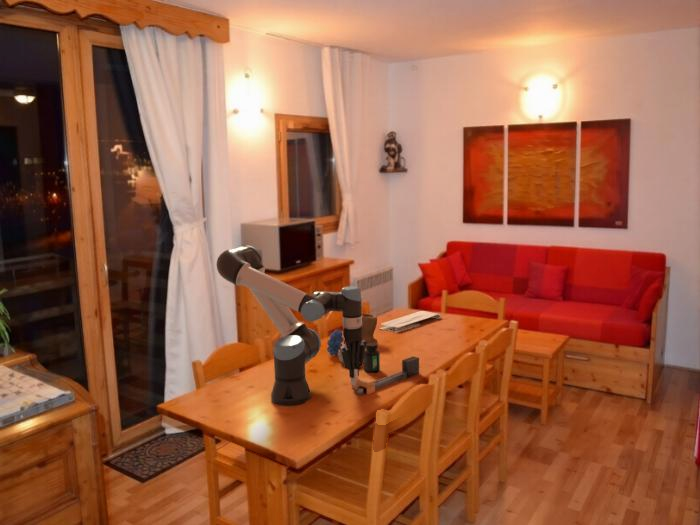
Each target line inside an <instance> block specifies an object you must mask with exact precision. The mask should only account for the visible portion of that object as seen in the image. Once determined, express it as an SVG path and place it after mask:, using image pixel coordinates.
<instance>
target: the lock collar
mask: <svg viewBox="0 0 700 525" xmlns="http://www.w3.org/2000/svg"><path fill="white" fill-rule="evenodd" d="M375 381H376V380H374V379H371V378H368V377H362V378H358V386H354V385H351V389H353V390H356V391H357V387H360V386H362V387H365V388H367V393H366V395H370V394H372V393H375V392H376V390H375Z"/></svg>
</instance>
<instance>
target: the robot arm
mask: <svg viewBox="0 0 700 525" xmlns="http://www.w3.org/2000/svg"><path fill="white" fill-rule="evenodd" d="M216 270H217V272H218V274H219V275H220V276H221V277H222V278H223V279H225V280H226V281H227V282H229V283H231V284H233V285H236V286H238V287H240V286H244V287H246V288H247V289H248V290H249V291H250V293H251V294H252V295H253V297H254V298H255V299H256V301H257V302H258V304H259V305H260V307H261V308H262V309H263V311H264V312H265V314H266V315H267V316H268V318H269V319H270V320H271V323H273V325H274V326H275V327H276V329H277V331H278V332H279V334H280V337H279V338H277V339H276V340H275V341H274V344H273V351H272V353H273V362H274V363H273V366H274V383H273V386H272V387H273V388H272V390H271V393H270V397H271V398H270V399H271V402H272V403H273V404H275V405H278V406H284V407H294V406H298V405H299V406H300V405H303V404H305V403H307V402H308V401H310V399H311V398H312V397H311V396H312V394H311V389H310V386H309V383H308V381H307V378H306V365H307V363H308V362H309V361H311V360H312V359H314V358H315V357H316V356H317V355H318V353H319V352H320V350H321V346H322V341H321V338H320V335H319V333H317V331H316V330H314V329H312V328H308V326H307V325H306V323H305V322H303V321H302V322H301V321H299V320H298V318H297V317H296V315H295V314H294V313H293V312H292V310H293V311H296V312H297V313H300V314H301V316H302V318H303V319H304V320H306V321H307V322H315V321H319V320H320V319H321V318H323V317H324V316H325V315H327V314H329V312H341V314H342V333H343V335H342V337H343V338H344V341H343V344H342V347H339V351H341V353H342V358H343V362H344V363H343V362H342V363H343V365H344V366H343V367H344V368H345V369H346V370H348V371H349V378H350V385H351V386H352V385H354V386H358V379H359V377H360V376H359V375H360V370H361V369H362V366H364V361H363V360H364V353H365V350H366V344H367V341H364V340H362V335H363V333H362V327H361V326H362V313H363V310H362V308H363V307H362V306H363V305H362V304H363V303H362V300H363V298H362V290H361V288H360V287H359V286H354V285H352V286H344V287H342V288H341V291H324V290H321V291H315V292H313V293H312V295H311V294H308V293H306V292H304V291H302V290H300V289H298V288H296V287H294V286H292V285H290V284H287V283H286V282H284V281H282V280H279V279H277V278H275V277H273V276H272V275H268V274H267V273H265V271H266V267H265V266H264V264H263V257H262V254H261V252H260V250H258V249H257V248H256V247H254V246H252V245H239V246H236V247H234V248H230V249H227V250H224V251H223V252H221V254H219V256H217V260H216ZM291 309H292V310H291Z"/></svg>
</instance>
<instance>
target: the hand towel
mask: <svg viewBox="0 0 700 525" xmlns="http://www.w3.org/2000/svg"><path fill="white" fill-rule="evenodd" d="M430 318H431V319H437V320H439V319H441V318H442V317H441V314H440V313H435V312H430V311H426V310H425V311H424V310H420V311H416V312H414V313H413V312H412V313H410V314H407V315H403V316H402V317H401V316H400V317H397V318H394V319H391V320H389V321H385V322H381V323H380V325H382V327H380V328H379V327H378V330H380V329H381V330H382V331H385V332H386V331H387V330H388V331H387V332H388V333H390V331H391V333H393V332H394V333H395V334H399V333H401V331H402V332H404V330H405V331H408V330H410V329H413V327H414V328H417V327H420V326H421V324H420V323H418V322H420V321H424V320H426V319H430ZM406 326H407V327H406ZM402 327H403V328H402ZM393 328H394V329H393ZM390 329H392V330H390ZM396 329H397V330H396ZM407 329H408V330H407ZM393 330H395V331H393ZM398 332H399V333H398ZM394 333H393V334H394Z"/></svg>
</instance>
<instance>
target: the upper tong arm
mask: <svg viewBox="0 0 700 525" xmlns="http://www.w3.org/2000/svg"><path fill="white" fill-rule="evenodd" d="M416 357H417V356H410V357H407V358H404V359H402V360H401V369H402V370H401V371H399V372H395V373H393V374H390V375H387V376H385V377H382V378H379V379H376V380H374V381H375V383H377V382H379V381H382V380H385V379H387V378H390V377H392V376H395V375H398V374H400V373H403V372H406V367H405V361H407V360H410V359H413V358H416ZM365 393H366V388H365V387H362V386H360V387H357V390H356V394H357V396H363V395H364V394H365Z"/></svg>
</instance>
